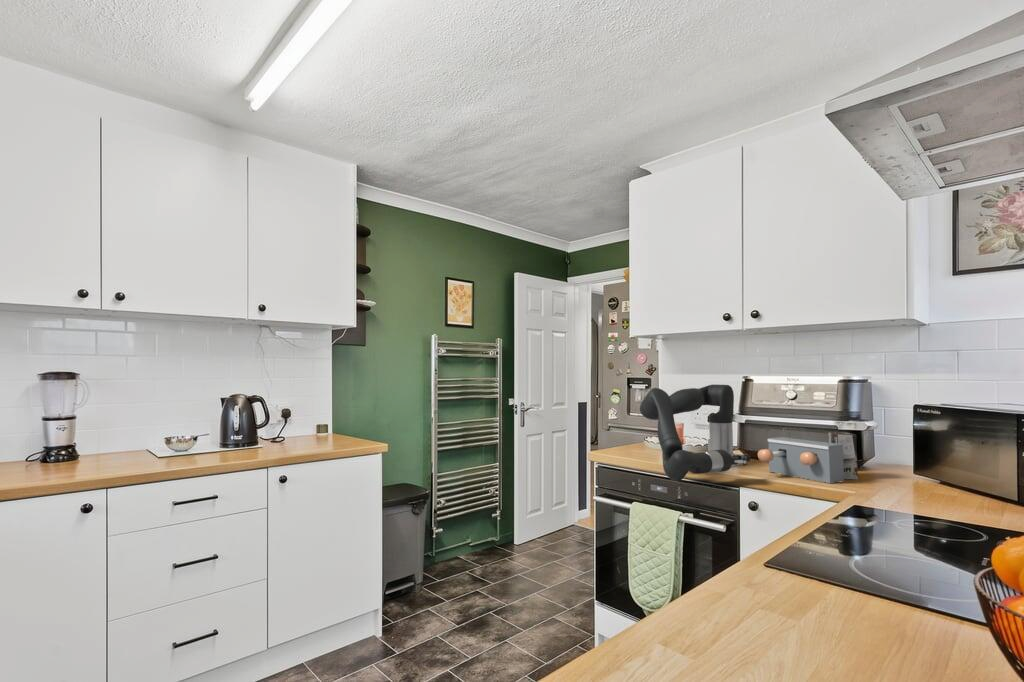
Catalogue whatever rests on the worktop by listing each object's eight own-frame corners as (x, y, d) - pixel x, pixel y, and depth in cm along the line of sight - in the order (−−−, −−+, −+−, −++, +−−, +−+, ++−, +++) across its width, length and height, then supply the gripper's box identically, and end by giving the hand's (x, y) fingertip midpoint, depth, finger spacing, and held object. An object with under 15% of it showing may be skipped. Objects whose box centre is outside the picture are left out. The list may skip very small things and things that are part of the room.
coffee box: (858, 479, 194) (857, 434, 195) (839, 479, 195) (837, 434, 196) (848, 474, 203) (846, 431, 204) (829, 474, 204) (828, 431, 205)
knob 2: (800, 464, 193) (799, 451, 194) (821, 461, 199) (820, 449, 199) (811, 466, 189) (811, 453, 190) (833, 463, 195) (832, 451, 195)
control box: (768, 472, 209) (767, 438, 209) (783, 470, 212) (782, 437, 213) (829, 483, 187) (828, 446, 188) (844, 481, 191) (842, 444, 192)
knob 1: (757, 460, 201) (757, 448, 201) (779, 458, 206) (779, 446, 206) (768, 462, 197) (767, 450, 197) (789, 460, 202) (789, 448, 203)
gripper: (729, 453, 182) (764, 449, 190) (699, 448, 194) (733, 444, 201) (729, 475, 181) (764, 470, 189) (699, 469, 193) (733, 465, 201)
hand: (748, 457), depth 195 cm, fingers closed
